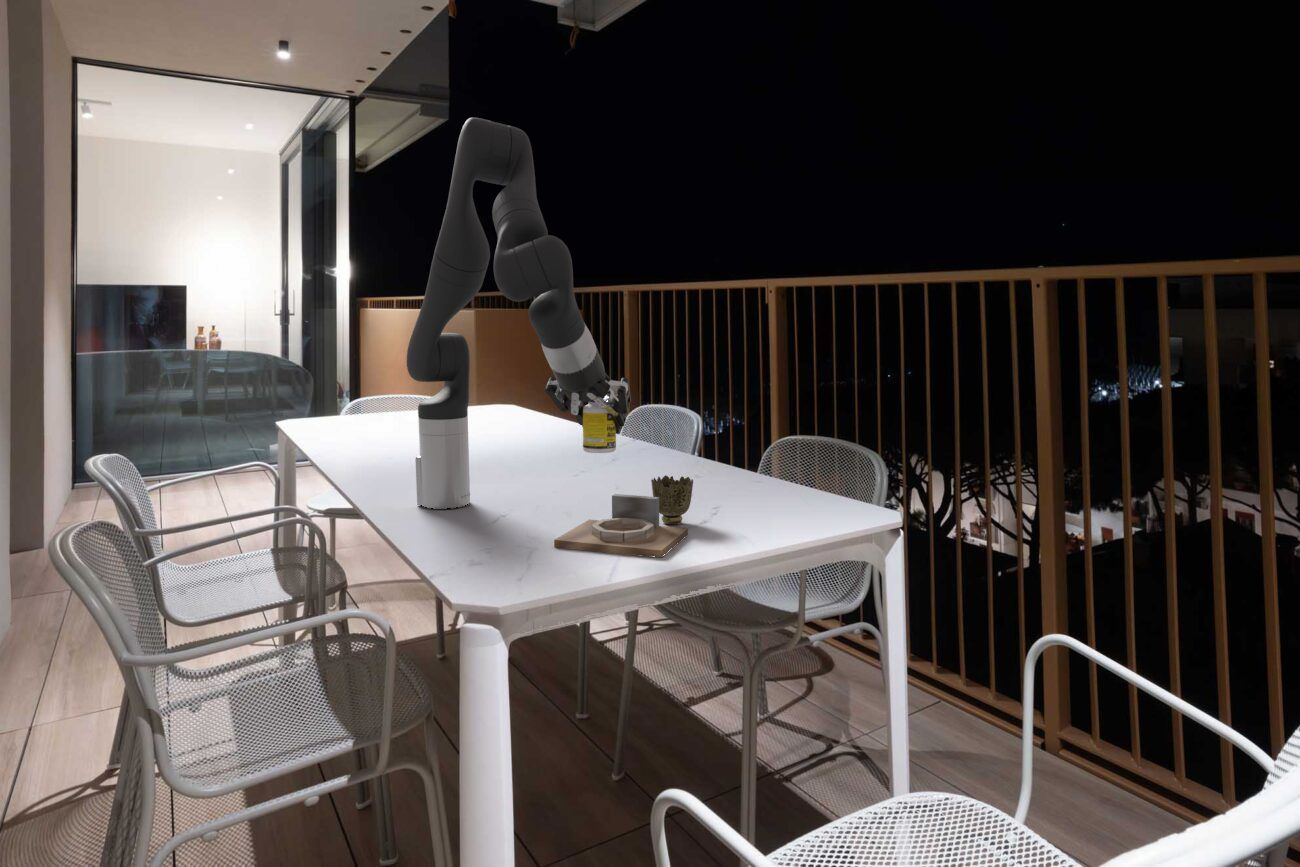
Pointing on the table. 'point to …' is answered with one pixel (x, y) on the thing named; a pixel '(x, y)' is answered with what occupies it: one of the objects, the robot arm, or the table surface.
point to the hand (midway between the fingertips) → (603, 424)
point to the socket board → (625, 530)
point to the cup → (672, 497)
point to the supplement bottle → (598, 430)
